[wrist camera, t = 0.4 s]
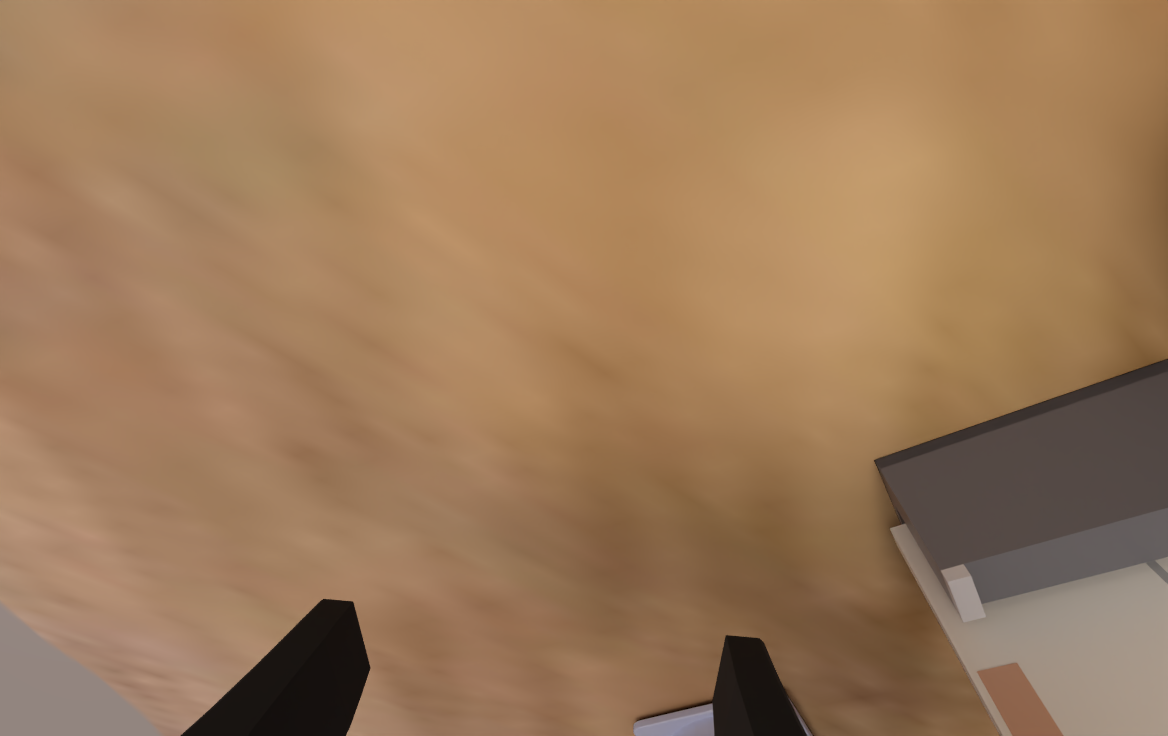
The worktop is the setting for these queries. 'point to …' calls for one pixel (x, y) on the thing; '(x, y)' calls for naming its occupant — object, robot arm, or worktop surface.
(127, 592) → the worktop surface
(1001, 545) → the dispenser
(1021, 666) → the beige flat plate
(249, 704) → the robot arm
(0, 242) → the worktop surface
